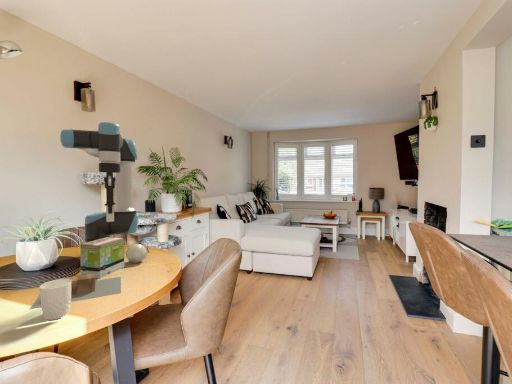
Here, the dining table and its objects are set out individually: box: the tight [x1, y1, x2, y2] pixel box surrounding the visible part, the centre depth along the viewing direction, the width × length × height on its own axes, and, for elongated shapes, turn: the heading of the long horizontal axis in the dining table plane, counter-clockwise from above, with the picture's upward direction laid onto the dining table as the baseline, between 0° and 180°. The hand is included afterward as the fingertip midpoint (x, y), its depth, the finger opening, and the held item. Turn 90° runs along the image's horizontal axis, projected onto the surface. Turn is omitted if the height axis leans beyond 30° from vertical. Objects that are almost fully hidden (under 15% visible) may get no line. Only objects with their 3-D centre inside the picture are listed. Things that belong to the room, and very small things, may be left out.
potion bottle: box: [125, 243, 150, 263], centre depth 137 cm, size 9×10×15 cm
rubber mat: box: [29, 276, 122, 310], centre depth 99 cm, size 26×18×1 cm
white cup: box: [38, 278, 72, 322], centre depth 82 cm, size 8×8×10 cm
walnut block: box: [56, 273, 97, 295], centre depth 98 cm, size 5×5×12 cm
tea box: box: [80, 236, 125, 280], centre depth 119 cm, size 15×10×15 cm, turn 168°
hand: (110, 221), depth 107 cm, fingers closed
